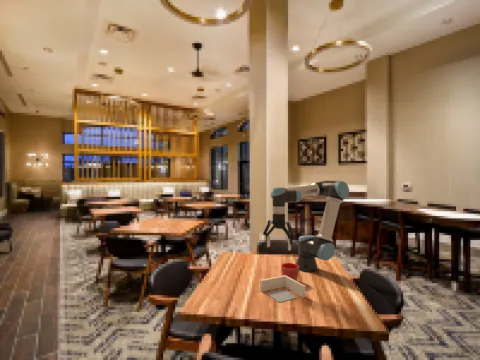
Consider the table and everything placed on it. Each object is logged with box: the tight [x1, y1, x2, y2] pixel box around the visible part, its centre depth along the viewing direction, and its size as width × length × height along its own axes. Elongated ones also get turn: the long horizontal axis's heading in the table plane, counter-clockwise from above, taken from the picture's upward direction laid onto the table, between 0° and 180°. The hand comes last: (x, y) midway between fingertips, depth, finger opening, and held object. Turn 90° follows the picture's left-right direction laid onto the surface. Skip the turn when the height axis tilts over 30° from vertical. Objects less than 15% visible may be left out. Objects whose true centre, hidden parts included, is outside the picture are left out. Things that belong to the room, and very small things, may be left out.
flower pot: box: [280, 262, 300, 282], centre depth 162 cm, size 11×11×10 cm
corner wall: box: [259, 275, 306, 298], centre depth 144 cm, size 18×18×6 cm
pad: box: [265, 288, 298, 303], centre depth 141 cm, size 12×12×1 cm
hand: (278, 248), depth 158 cm, fingers open, 13 cm apart
